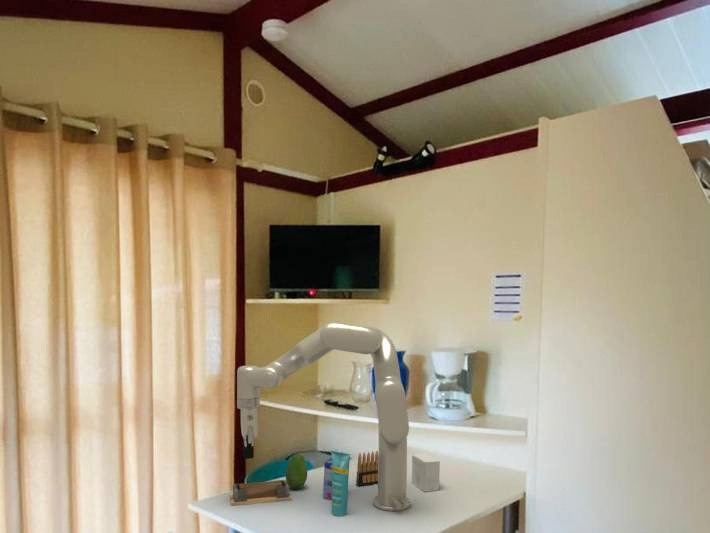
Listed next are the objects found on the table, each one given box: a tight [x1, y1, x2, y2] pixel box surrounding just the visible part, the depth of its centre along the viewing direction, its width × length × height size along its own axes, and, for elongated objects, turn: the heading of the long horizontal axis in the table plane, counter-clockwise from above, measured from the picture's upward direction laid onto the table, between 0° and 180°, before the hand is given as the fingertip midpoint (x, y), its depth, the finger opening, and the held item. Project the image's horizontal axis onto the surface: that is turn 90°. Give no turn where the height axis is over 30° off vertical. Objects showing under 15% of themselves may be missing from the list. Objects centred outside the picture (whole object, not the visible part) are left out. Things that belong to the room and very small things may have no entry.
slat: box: [238, 480, 282, 499], centre depth 183 cm, size 4×14×4 cm, turn 107°
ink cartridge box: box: [322, 451, 343, 500], centre depth 188 cm, size 10×6×14 cm, turn 160°
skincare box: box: [411, 453, 441, 493], centre depth 198 cm, size 10×6×10 cm, turn 20°
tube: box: [330, 450, 351, 517], centre depth 173 cm, size 7×5×19 cm, turn 62°
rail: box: [229, 479, 293, 507], centre depth 183 cm, size 7×20×4 cm, turn 107°
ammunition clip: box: [355, 450, 379, 488], centre depth 199 cm, size 11×2×12 cm, turn 116°
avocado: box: [285, 453, 308, 490], centre depth 194 cm, size 8×8×12 cm
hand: (248, 457), depth 182 cm, fingers closed
